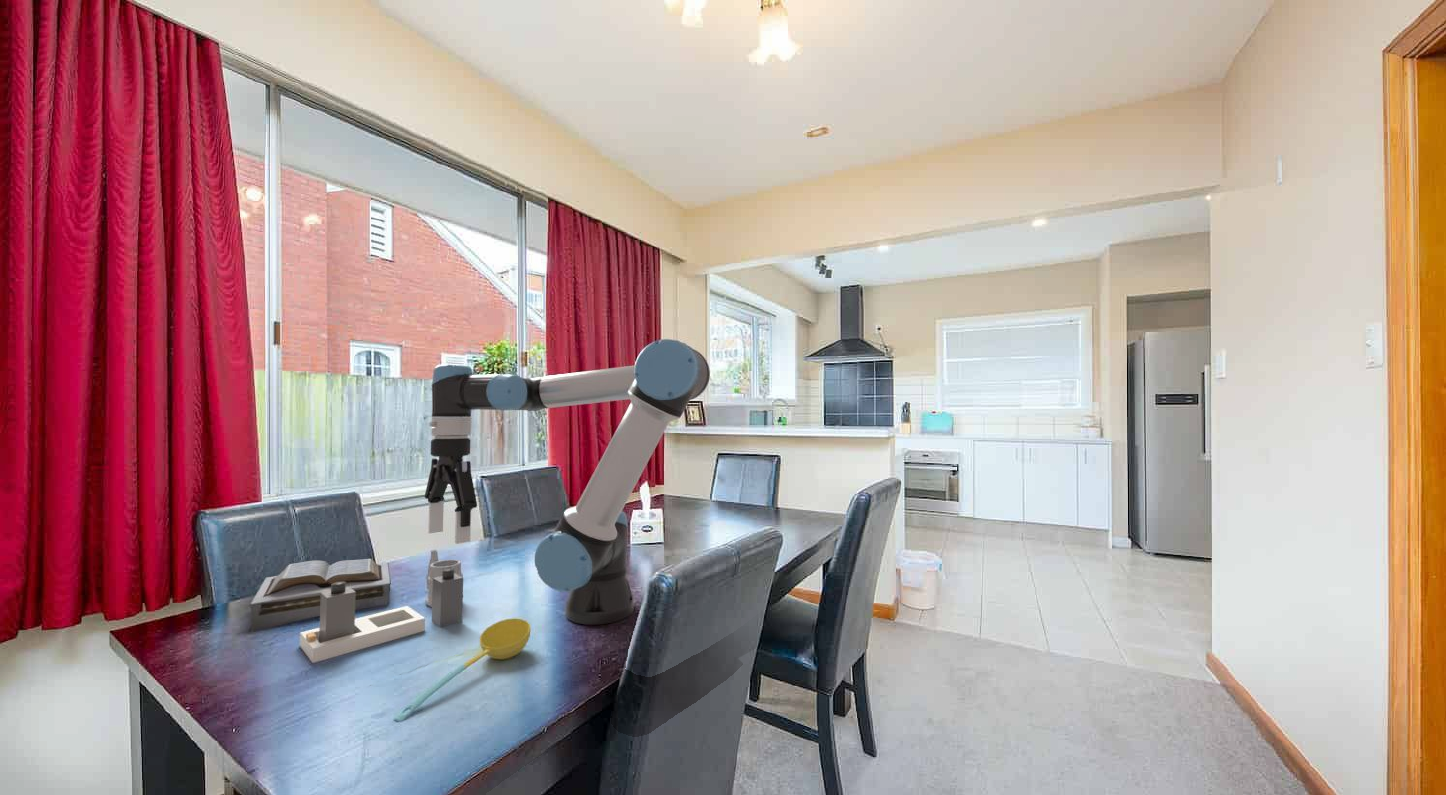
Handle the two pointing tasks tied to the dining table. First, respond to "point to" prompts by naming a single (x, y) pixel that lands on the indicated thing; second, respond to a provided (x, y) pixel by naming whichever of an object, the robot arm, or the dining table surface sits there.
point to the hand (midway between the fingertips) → (448, 537)
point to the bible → (316, 590)
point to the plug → (447, 598)
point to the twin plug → (337, 612)
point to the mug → (439, 572)
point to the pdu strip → (364, 633)
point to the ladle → (484, 653)
